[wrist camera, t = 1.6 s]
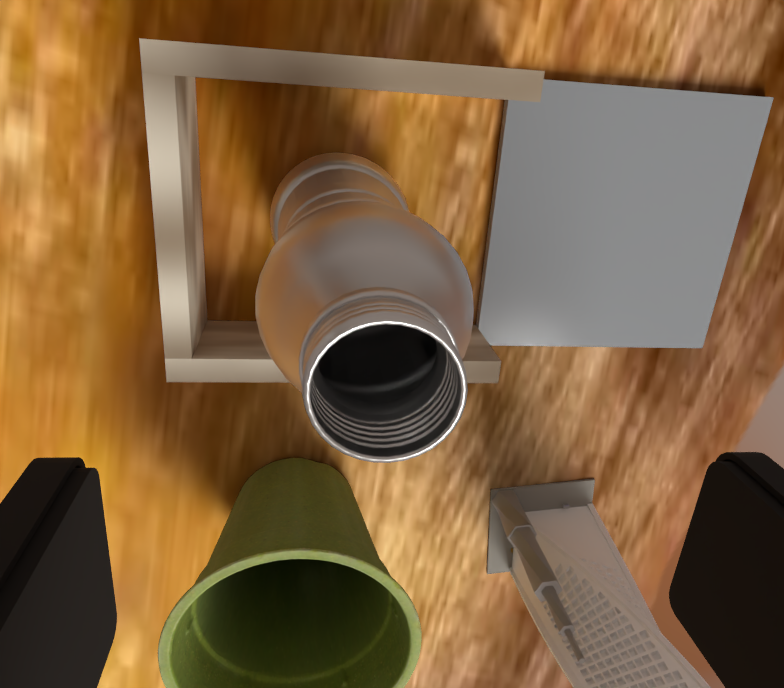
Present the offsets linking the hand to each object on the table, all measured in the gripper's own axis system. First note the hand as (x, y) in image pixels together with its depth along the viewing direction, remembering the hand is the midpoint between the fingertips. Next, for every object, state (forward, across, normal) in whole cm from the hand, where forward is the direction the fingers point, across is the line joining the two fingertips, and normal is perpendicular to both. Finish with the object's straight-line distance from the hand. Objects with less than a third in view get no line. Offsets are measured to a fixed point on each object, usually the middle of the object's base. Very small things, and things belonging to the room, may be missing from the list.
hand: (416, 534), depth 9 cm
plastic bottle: (+25, 0, 0) cm, 25 cm away
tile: (+24, -15, 0) cm, 29 cm away
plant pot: (+25, +2, +18) cm, 31 cm away
